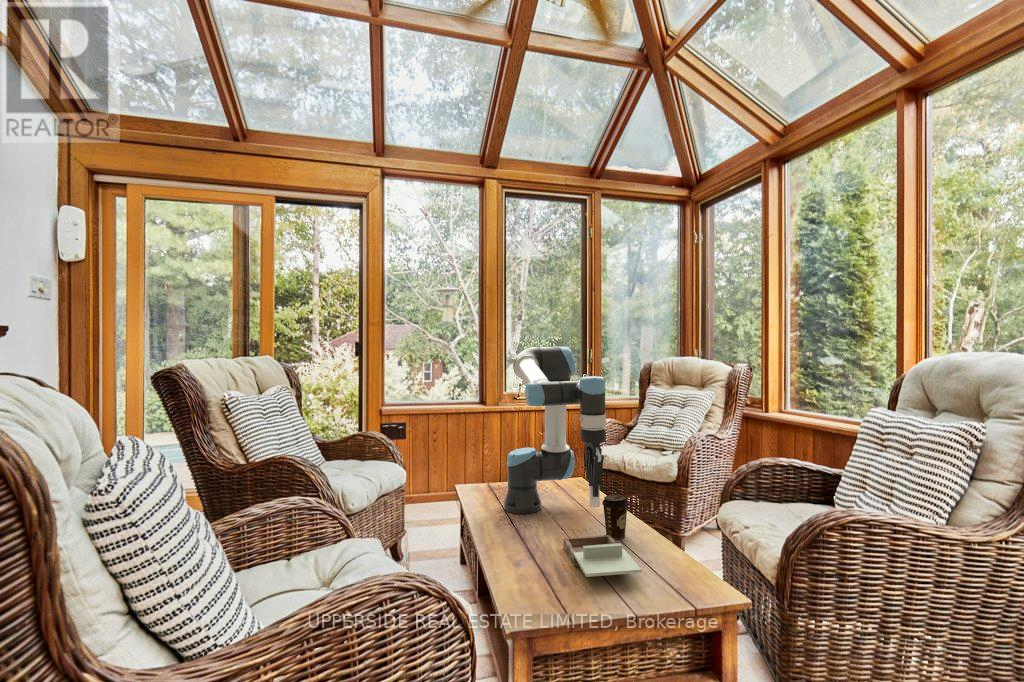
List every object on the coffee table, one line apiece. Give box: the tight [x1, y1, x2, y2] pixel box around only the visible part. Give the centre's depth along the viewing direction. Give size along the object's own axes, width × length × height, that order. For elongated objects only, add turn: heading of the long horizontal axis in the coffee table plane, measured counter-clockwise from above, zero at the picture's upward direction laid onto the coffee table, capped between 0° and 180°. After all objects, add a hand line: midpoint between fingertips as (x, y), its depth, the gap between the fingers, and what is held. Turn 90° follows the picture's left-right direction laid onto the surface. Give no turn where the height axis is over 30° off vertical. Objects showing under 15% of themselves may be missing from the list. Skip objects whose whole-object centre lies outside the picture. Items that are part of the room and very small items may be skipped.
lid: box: [574, 542, 642, 578], centre depth 140 cm, size 14×15×4 cm
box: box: [563, 534, 617, 568], centre depth 154 cm, size 14×15×3 cm
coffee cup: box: [601, 494, 629, 540], centre depth 169 cm, size 9×8×13 cm
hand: (594, 506), depth 150 cm, fingers closed
